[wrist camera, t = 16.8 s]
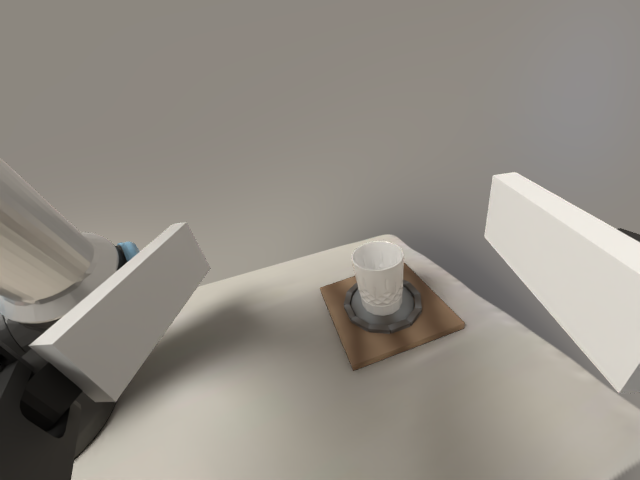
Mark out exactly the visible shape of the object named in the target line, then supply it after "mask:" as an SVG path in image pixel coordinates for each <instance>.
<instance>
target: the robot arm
mask: <svg viewBox="0 0 640 480" xmlns="http://www.w3.org/2000/svg"><path fill="white" fill-rule="evenodd" d="M484 237H485V238H486V239H487V240H488V242H489V243H490V244H491V245H492V246H493V247H494V249H495V250H496V251H497V252H498V253H499V254H500V256H501V257H502V258H503V259H504V260H505V262H506V263H507V264H508V265H509V266H510V267H511V268H512V270H513V271H514V272H515V273H516V274H517V275H518V277H519V278H520V279H521V280H522V281H523V282H524V284H525V285H526V286H527V287H528V288H529V289H530V291H532V293H533V294H534V295H535V296H536V298H537V299H538V300H539V301H540V302H541V303H542V304H543V306H544V307H545V308H546V309H547V310H548V311H549V313H550V314H551V315H552V316H553V317H554V318H555V319H556V321H557V322H558V323H559V324H560V325H561V327H562V328H563V329H564V330H565V331H566V332H567V334H568V335H569V336H570V337H571V338H572V339H573V341H574V342H575V343H576V344H577V345H578V346H579V348H580V349H581V350H582V351H583V352H584V353H585V354H586V356H587V357H588V358H589V359H590V360H591V361H592V363H593V364H594V365H595V366H596V367H597V368H598V370H599V371H600V372H601V373H602V374H603V375H604V377H605V378H606V379H607V380H608V381H609V382H610V384H611V385H612V386H613V387H614V388H615V389H616V391H617V392H618V393H640V235H639V234H636V233H633V232H630V231H627V230H624V229H621V228H620V229H615V228H613V227H612V226H610V225H608V224H606V223H604V222H603V221H601V220H599V219H597V218H596V217H594V216H592V215H590V214H589V213H587V212H585V211H583V210H581V209H580V208H578V207H576V206H574V205H573V204H571V203H569V202H567V201H566V200H564V199H562V198H560V197H558V196H557V195H555V194H553V193H551V192H550V191H548V190H546V189H544V188H542V187H540V186H539V185H537V184H535V183H534V182H532V181H530V180H528V179H527V178H525V177H523V176H521V175H520V174H518V173H516V172H513V173H506V174H500V175H493V180H492V186H491V193H490V200H489V208H488V215H487V221H486V228H485V236H484ZM209 270H210V266H209V264H208V262H207V261H206V258H205V256H204V254H203V252H202V250H201V248H200V247H199V245H198V243H197V241H196V239H195V237H194V235H193V233H192V231H191V229H190V227H189V225H188V223H187V222H184V223H176V224H172V225H171V226H170V227H168V228H167V229H166V230H165V231H164V232H163V233H161V234H160V235H159V236H158V237H157V238H155V239H154V240H153V241H152V242H151V243H150V244H148V245H147V246H146V247H145V248H144V249H142V250H141V251H139V250H138V248H137V247H136V245H135V244H134V243H132V242H126V243H118V244H117V246H115V245H114V244H113V243H112V242H111V241H110V240H108V239H107V238H105V237H104V236H101V235H98V234H95V233H89V232H80V231H78V230H77V229H76V228H75V227H74V226H73V225H72V224H71V223H70V222H69V221H68V220H67V219H66V218H65V217H63V216H62V215H61V214H60V213H59V212H58V211H57V210H56V209H55V208H54V207H53V206H52V205H50V204H49V203H48V202H47V201H46V200H45V199H44V198H43V197H42V196H41V195H40V194H39V193H38V192H36V191H35V190H34V189H33V188H32V187H31V186H30V185H29V184H28V183H27V182H26V181H25V180H24V179H23V178H21V177H20V176H19V175H18V174H17V173H16V172H15V171H14V170H13V169H12V168H11V167H10V166H9V165H8V164H6V163H5V162H4V161H3V160H2V159H1V158H0V480H71V475H72V469H73V462H74V458H75V457H76V456H78V455H79V454H80V453H81V452H82V451H83V450H84V449H85V448H86V446H87V445H88V444H89V443H90V442H91V441H92V440H93V439H94V437H95V436H96V435H97V434H98V432H99V431H100V430H101V428H102V427H103V425H104V424H105V422H106V421H107V419H108V418H109V416H110V414H111V412H112V410H113V408H114V405H115V402H116V401H117V399H118V398H119V397H120V395H121V394H122V392H123V391H124V390H125V388H126V387H127V385H128V384H129V383H130V381H131V380H132V378H133V377H134V376H135V374H136V373H137V371H138V370H139V369H140V367H141V366H142V364H143V363H144V361H145V360H146V359H147V357H148V356H149V354H150V353H151V352H152V350H153V349H154V347H155V346H156V345H157V343H158V342H159V340H160V339H161V338H162V336H163V335H164V333H165V332H166V331H167V329H168V328H169V326H170V325H171V323H172V322H173V321H174V319H175V318H176V316H177V315H178V314H179V312H180V311H181V309H182V308H183V307H184V305H185V304H186V302H187V301H188V300H189V298H190V297H191V295H192V294H193V292H194V291H195V290H196V288H197V287H198V285H199V284H200V282H201V281H202V280H203V278H204V277H205V276H206V274H207V273H208V271H209Z"/></svg>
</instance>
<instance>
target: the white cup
mask: <svg viewBox="0 0 640 480" xmlns="http://www.w3.org/2000/svg"><path fill="white" fill-rule="evenodd" d="M351 259H352V263H353V268H354V272H355V277H356V281H357V285H358V289H359V293H360V295H361V300H362V305H363V306H364V308H365V309H366V310H367V311H368V312H370V313H372V314H374V315H379V316H386V315H390V314H393V313H395V312H396V311H397V310H399V309H400V306H401V304H402V291H403V272H404V252H403V250H402V249H401V247H399V246H398V245H396V244H394V243H392V242H388V241H372V242H368V243H365V244H362V245H360V246H359V247H357V248H356V249H355V250H354V251H353V253H352V256H351Z"/></svg>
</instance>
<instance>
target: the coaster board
mask: <svg viewBox="0 0 640 480" xmlns="http://www.w3.org/2000/svg"><path fill="white" fill-rule="evenodd" d="M320 290H321V293H322V296H323V298H324V301H325V303H326V306H327V308H328V310H329V313H330V315H331V318H332V320H333V323H334V325H335V327H336V330H337V332H338V335H339V337H340V340H341V342H342V344H343V347H344V349H345V352H346V354H347V357H348V359H349V361H350V364H351V366H352V369H353V371H354V370H357V369H359V368H362V367H364V366H367V365H370V364H372V363H375V362H378V361H380V360H383V359H385V358H388V357H391V356H393V355H396V354H398V353H401V352H404V351H406V350H409V349H411V348H414V347H417V346H419V345H422V344H424V343H427V342H430V341H432V340H435V339H437V338H440V337H443V336H445V335H448V334H451V333H453V332H456V331H458V330H461V329H464V325H465V323H464V322H463V321H462V320H461V319H460V318H459V317H458V316H457V315H456V314H455V313H454V312H453V311H452V310H451V309H450V308H449V307H448V306H447V305H446V304H445V303H444V302H443V301H442V300H441V299H440V298H439V297H438V296H437V295H436V294H435V293H434V292H433V291H432V290H431V289H430V288H429V287H428V286H427V285H426V284H425V283H424V282H423V281H422V280H421V279H420V278H419V277H418V276H417V275H416V274H415V273H414V272H413V271H412V270H411V269H410V268H409V267H408V266H407V265H406V264H405V263H404V272H403V291H402V304H401V306H400V309H399V310H397V311H396V312H395V313H393V314H390V315H386V316H379V315H374V314H372V313H370V312H368V311H367V310H366V309H365V308H364V306H363V305H362V300H361V295H360V293H359V289H358V285H357V281H356V277H355V276H353V277H350V278H347V279H345V280H342V281H339V282H336V283H333V284H330V285H327V286H324V287H321V288H320Z"/></svg>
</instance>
